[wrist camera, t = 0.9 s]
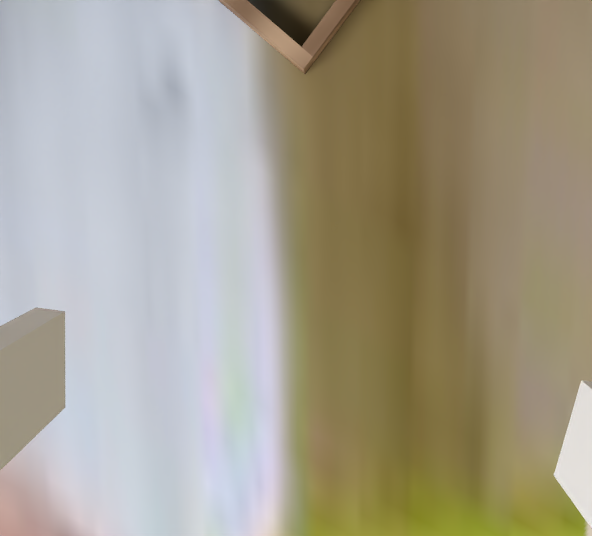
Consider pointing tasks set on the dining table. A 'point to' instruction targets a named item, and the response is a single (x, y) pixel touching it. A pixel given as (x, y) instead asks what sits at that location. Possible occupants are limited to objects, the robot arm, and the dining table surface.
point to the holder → (282, 42)
